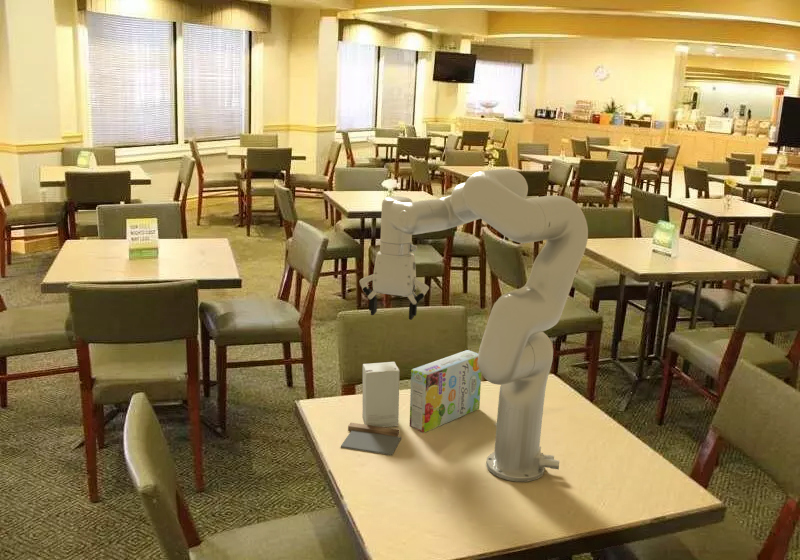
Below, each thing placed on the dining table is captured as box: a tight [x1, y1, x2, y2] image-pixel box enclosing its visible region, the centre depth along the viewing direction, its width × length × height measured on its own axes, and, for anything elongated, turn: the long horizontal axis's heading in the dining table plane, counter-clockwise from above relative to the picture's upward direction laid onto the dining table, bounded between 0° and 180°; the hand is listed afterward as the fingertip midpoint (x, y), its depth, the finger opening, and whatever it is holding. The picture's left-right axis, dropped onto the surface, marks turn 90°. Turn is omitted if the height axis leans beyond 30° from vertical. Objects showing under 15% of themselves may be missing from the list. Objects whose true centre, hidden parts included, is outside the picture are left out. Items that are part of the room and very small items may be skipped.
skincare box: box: [361, 361, 401, 428], centre depth 181 cm, size 8×6×15 cm
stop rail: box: [347, 422, 400, 437], centre depth 177 cm, size 12×2×1 cm, turn 76°
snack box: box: [409, 349, 482, 434], centre depth 185 cm, size 21×6×15 cm, turn 136°
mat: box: [340, 430, 402, 456], centre depth 172 cm, size 12×8×1 cm
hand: (392, 315), depth 185 cm, fingers open, 9 cm apart
